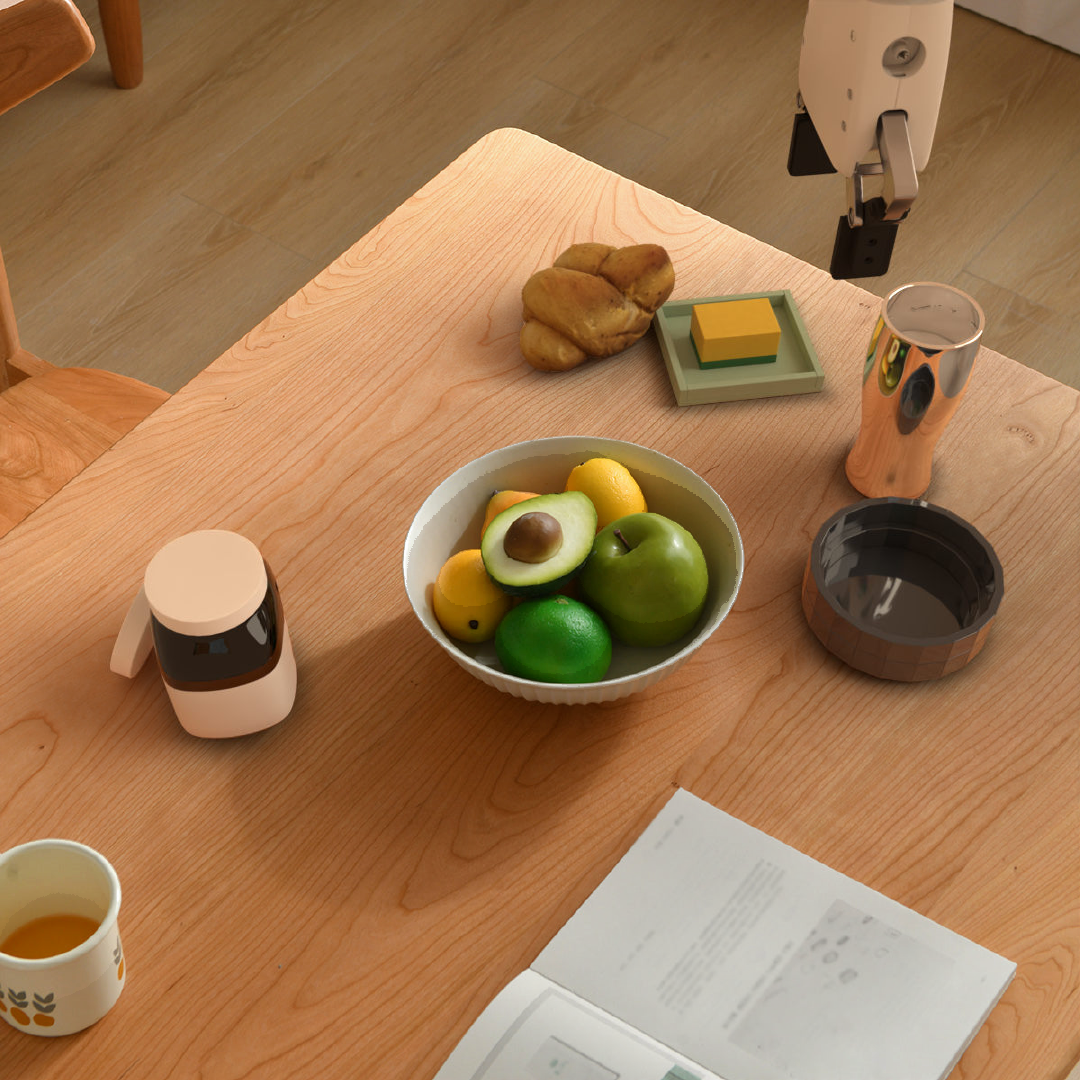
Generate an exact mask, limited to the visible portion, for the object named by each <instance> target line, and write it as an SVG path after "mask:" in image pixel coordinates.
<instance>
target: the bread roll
mask: <svg viewBox="0 0 1080 1080" xmlns="http://www.w3.org/2000/svg"><path fill="white" fill-rule="evenodd" d="M675 285H676V272H675V270H674V265H673V262H672V260H671V257H670V256H669V254H668V252H667V250H666V249H665V248H664V247H663V246H662V245H658V244H656V243H641V244H640V243H639V244H636V245H635V244H634V245H628V246H622V247H620V248H618V247H616V246H614V245H608V244H605V243H600V242H583V243H582V242H581V243H572V244H571V245H570V246H569V247H568V248H567V249H565V250H564V251H563V252H562V253H561V254H560V255H559V256H558V257H557V258H556V259H555V260H554V262H553V264H552V266H551V267H547V268H545V269H542V270H538V271H536V272H535V273H533V274H532V275H531V276H530V277H529V278H528V279H527V281H526V282H525V283H524V285H522V288H521V302H522V312H521V317H522V319H523V321H524V324H523V326H522V327H521V328H520V331H519V335H520V336H519V343H518V344H519V346H518V347H519V351H520V353H521V357H522V358H524V360H525V362H526V363H527V364H528V365H529V366H530V367H532V368H533V369H535V370H538V371H542V372H547V373H549V372H551V373H558V372H559V373H561V372H566V371H570V370H573V369H575V368H576V367H578V366H579V365H581V364H582V363H584V362H585V361H586V360H587V359H593V358H596V359H597V358H606V357H613V355H617V354H619V353H621V352H623V351H625V350H627V349H628V348H630V347H631V346H633V345H634V344H635V343H636V342H637V341H639V340H640V339H641V338H642V337H643V336H644V335H645V334H646V332H647V331H648V330H649V328H650V326H651V322H652V318H653V316H654V313H655V311H657V310H658V309H659V308H660V307H661V306H662V305H663V304H664V303H665V302H666V301H668V300H669V298H670V297H671V295H672V293H673V291H674V289H675Z"/></svg>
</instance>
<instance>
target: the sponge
mask: <svg viewBox="0 0 1080 1080" xmlns="http://www.w3.org/2000/svg"><path fill="white" fill-rule="evenodd" d="M780 335H781V330H780V327H779V325H778V322H777V320H776V317H775V315H774V312H773V309H772V307H771V304H770V302H769V299H768V298H761V299H751V300H741V301H731V302H720V303H710V304H700V305H693V308H692V317H691V326H690V334H689V337H690V340H691V343H692V346H693V349H694V352H695V355H696V358H697V361H698V364H699V367H700V370H707V369H716V368H726V367H736V366H745V365H755V364H765V363H774V362H776V358H777V352H778V346H779V341H780Z"/></svg>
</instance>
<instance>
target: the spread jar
mask: <svg viewBox="0 0 1080 1080" xmlns="http://www.w3.org/2000/svg"><path fill="white" fill-rule="evenodd" d="M284 610H285V609H284V607H283V602H282V597H281V593H280V590H279V586H278V583H277V579H276V577H275V574H274V572H273V570H272V567H271V566H270V564H269V562H268V561H267V559H266V558H265V557H263V556H262V554H261V552H260V550H259V548H258V547H256V545H255V544H254V543H253V542H252V541H250V540H249V539H248V538H247V537H245V536H243V535H241V534H240V533H239V534H238V533H236V532H234V531H229V530H226V529H214V528H213V529H201V530H196V531H192V532H188V533H186V534H183V535H180V536H178V537H176V538H174V539H173V540H171V541H169V542H168V543H167V544H165V545H164V546H163V547H161V548H160V549H159V550H158V551H157V552H156V554H154V555H153V557H152V559H151V560H150V562H149V563H148V565H147V567H146V570H145V572H144V576H143V583H142V584H141V586H140V587H139V589H138V592H137V593H136V594H135V596H134V598H133V601H132V602H131V604H130V607H129V609H128V611H127V613H126V616H125V618H124V620H123V622H122V625H121V627H120V630H119V632H118V634H117V637H116V640H115V643H114V646H113V649H112V653H111V657H110V663H109V670H110V671H111V672H113V673H115V674H119V675H121V676H123V677H126V678H129V679H132V678H133V679H134V677H136V676H137V674H138V673H139V671H140V670H141V669H142V667H143V665H144V664H145V662H146V660H147V658H148V656H149V655H150V652H151V651H152V650H153V649H152V648H154V653H155V657H156V661H157V665H158V669H159V672H160V675H161V678H162V681H163V683H164V687H165V689H166V691H167V694H168V697H169V700H170V702H171V705H172V707H173V710H174V712H175V715H176V717H177V719H178V721H179V723H180V725H181V726H182V728H183V729H184V730H185V731H186V732H187V734H190V735H192V736H195V737H198V738H203V739H214V740H225V739H235V738H242V737H247V736H251V735H254V734H255V735H256V734H258V733H261V732H263V731H266V730H268V729H271V728H273V727H275V726H277V725H278V724H280V723H281V722H283V721H284V720H285V719H287V717H288V716H289V714H290V713H291V711H292V708H293V707H294V704H295V700H296V699H295V698H296V693H297V686H298V685H297V681H298V679H297V678H298V677H297V676H298V675H297V674H298V673H297V665H296V658H295V653H294V647H293V643H292V639H291V636H290V631H289V627H288V623H287V619H286V618H287V617H286V615H285V611H284Z"/></svg>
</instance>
